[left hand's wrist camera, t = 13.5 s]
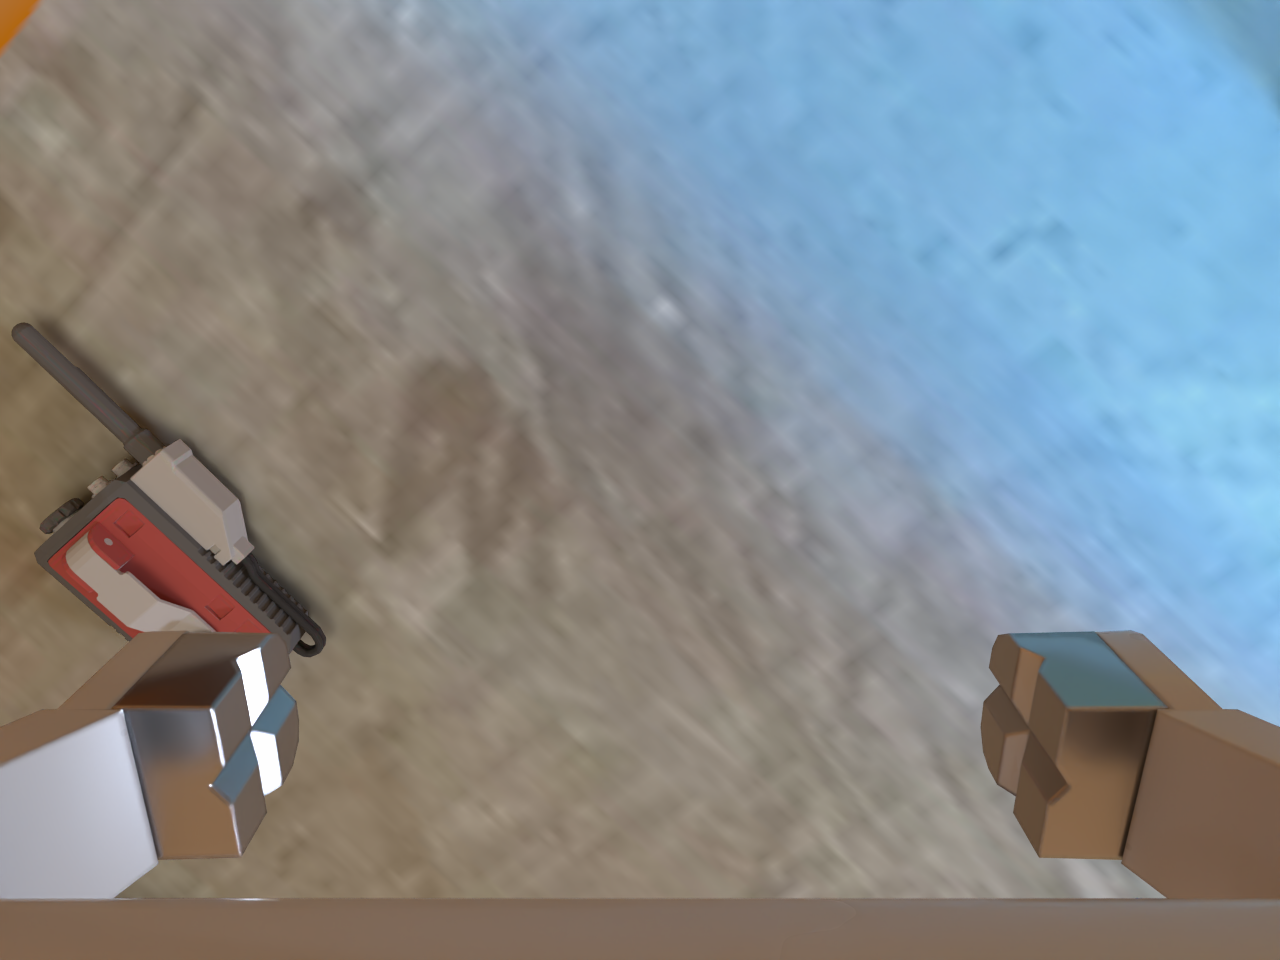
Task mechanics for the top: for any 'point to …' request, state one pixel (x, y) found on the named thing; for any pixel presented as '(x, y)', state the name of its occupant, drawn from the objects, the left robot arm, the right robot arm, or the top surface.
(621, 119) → the top surface
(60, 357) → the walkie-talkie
